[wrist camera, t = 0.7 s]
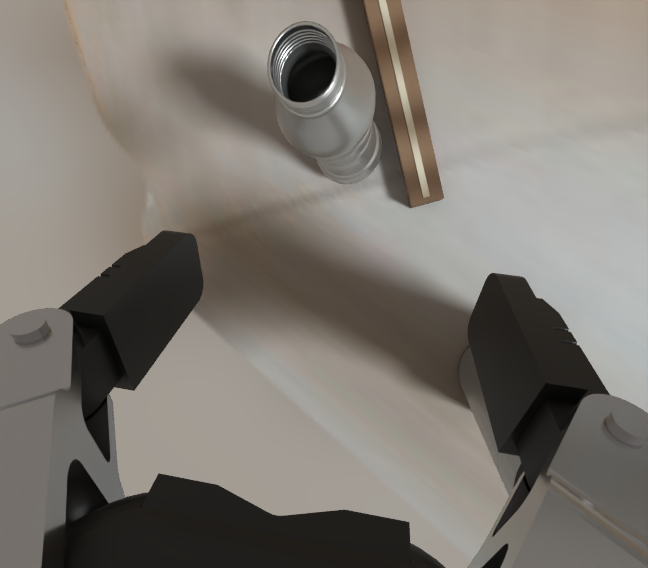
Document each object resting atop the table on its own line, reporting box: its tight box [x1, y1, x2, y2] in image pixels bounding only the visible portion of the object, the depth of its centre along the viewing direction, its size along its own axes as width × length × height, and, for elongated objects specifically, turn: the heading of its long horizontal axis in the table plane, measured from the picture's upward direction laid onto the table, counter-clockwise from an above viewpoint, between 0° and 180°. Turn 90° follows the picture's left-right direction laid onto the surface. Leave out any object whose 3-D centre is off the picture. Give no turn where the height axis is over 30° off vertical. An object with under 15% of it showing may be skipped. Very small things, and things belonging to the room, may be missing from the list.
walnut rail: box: [362, 0, 444, 208], centre depth 32 cm, size 28×3×3 cm, turn 15°
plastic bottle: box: [267, 21, 382, 184], centre depth 26 cm, size 6×7×20 cm
